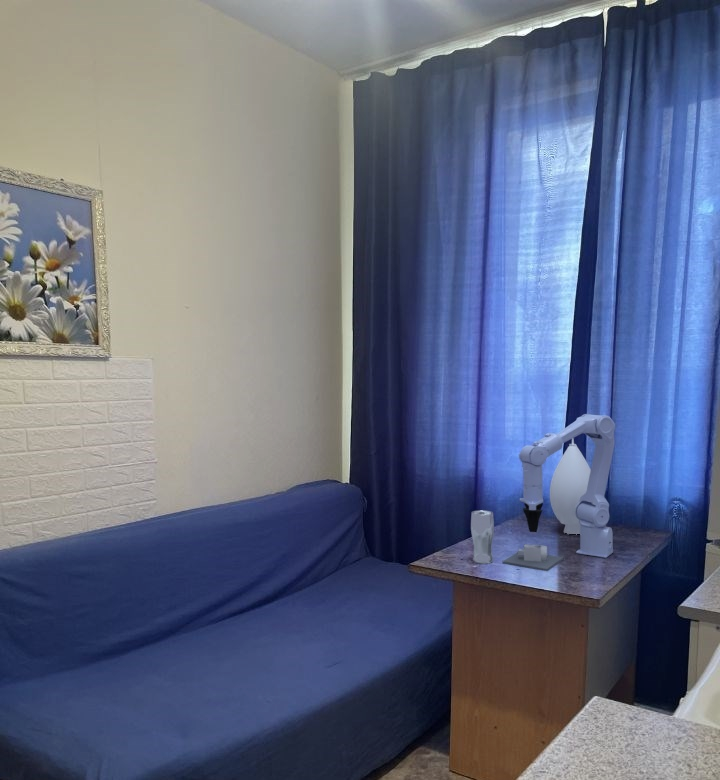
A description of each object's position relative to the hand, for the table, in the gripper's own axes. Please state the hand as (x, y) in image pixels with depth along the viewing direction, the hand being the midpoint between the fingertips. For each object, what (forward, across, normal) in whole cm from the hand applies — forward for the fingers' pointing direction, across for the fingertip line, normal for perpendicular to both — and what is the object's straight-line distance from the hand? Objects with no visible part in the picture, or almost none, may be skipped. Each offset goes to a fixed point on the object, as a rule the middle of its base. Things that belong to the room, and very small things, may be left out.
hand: (533, 528), depth 197 cm
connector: (+9, +1, 0) cm, 9 cm away
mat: (+10, +1, 0) cm, 10 cm away
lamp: (+10, -38, +13) cm, 41 cm away
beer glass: (+10, +4, -15) cm, 19 cm away
